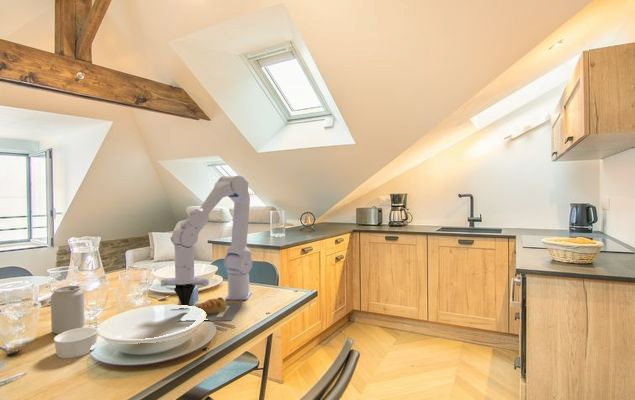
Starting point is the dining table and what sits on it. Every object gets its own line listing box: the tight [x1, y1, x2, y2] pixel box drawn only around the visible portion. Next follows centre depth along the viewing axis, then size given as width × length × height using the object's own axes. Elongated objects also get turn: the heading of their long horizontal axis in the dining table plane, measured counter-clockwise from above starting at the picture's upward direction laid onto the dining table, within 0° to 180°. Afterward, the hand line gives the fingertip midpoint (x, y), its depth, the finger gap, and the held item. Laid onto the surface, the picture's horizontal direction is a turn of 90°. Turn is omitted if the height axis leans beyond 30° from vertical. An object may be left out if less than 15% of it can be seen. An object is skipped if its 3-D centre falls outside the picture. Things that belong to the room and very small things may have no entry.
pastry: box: [196, 297, 226, 314], centre depth 113 cm, size 9×7×4 cm
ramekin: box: [53, 326, 99, 359], centre depth 86 cm, size 9×9×4 cm
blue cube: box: [178, 286, 199, 306], centre depth 123 cm, size 5×5×5 cm
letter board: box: [192, 302, 243, 322], centre depth 113 cm, size 16×16×1 cm
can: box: [50, 285, 85, 336], centre depth 99 cm, size 8×8×12 cm
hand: (185, 307), depth 113 cm, fingers closed
